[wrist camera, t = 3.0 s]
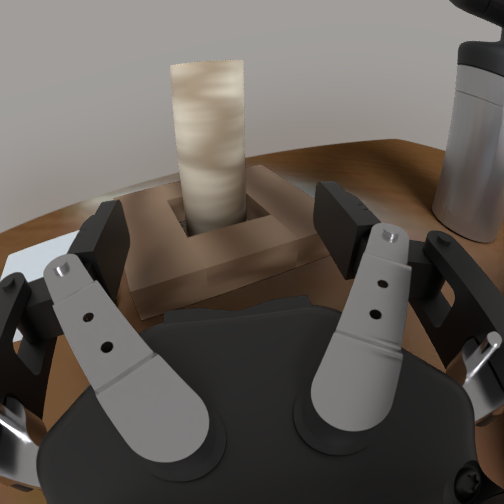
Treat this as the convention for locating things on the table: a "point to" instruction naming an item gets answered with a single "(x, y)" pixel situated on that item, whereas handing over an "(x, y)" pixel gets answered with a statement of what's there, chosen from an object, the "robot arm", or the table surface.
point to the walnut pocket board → (215, 243)
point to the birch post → (210, 142)
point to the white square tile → (36, 261)
